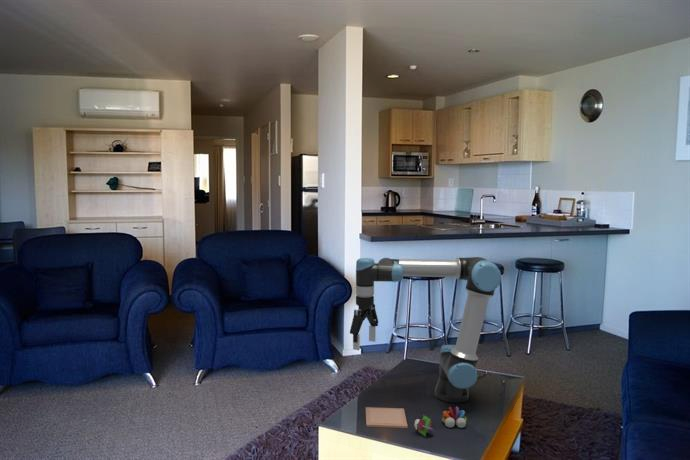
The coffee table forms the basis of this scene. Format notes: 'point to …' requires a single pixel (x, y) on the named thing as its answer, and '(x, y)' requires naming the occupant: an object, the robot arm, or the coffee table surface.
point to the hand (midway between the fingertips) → (364, 345)
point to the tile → (385, 417)
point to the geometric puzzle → (423, 425)
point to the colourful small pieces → (454, 418)
